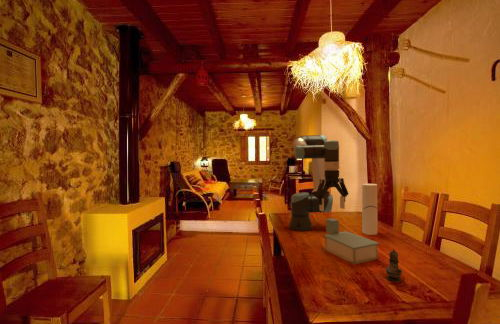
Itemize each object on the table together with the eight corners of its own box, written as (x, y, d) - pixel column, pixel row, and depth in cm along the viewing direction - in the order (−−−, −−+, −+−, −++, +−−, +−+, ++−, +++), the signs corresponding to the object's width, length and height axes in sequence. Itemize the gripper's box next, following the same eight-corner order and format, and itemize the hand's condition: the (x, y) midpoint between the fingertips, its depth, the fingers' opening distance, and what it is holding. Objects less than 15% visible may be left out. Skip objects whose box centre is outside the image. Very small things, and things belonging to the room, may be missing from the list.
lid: (317, 236, 144) (317, 220, 143) (340, 232, 149) (340, 217, 149) (353, 252, 120) (353, 233, 119) (378, 247, 125) (378, 229, 125)
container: (379, 235, 161) (378, 185, 160) (363, 234, 163) (363, 185, 162) (375, 231, 170) (375, 183, 169) (361, 230, 172) (360, 183, 170)
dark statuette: (382, 276, 109) (382, 246, 109) (396, 275, 110) (396, 246, 109) (391, 283, 103) (391, 252, 103) (405, 282, 104) (405, 251, 103)
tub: (325, 250, 139) (325, 236, 139) (346, 245, 144) (346, 233, 144) (354, 264, 120) (353, 249, 120) (377, 259, 126) (377, 244, 126)
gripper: (316, 171, 135) (317, 213, 135) (355, 169, 144) (355, 208, 145) (307, 170, 142) (308, 210, 142) (345, 168, 151) (345, 206, 152)
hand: (332, 209), depth 144 cm, fingers open, 13 cm apart
